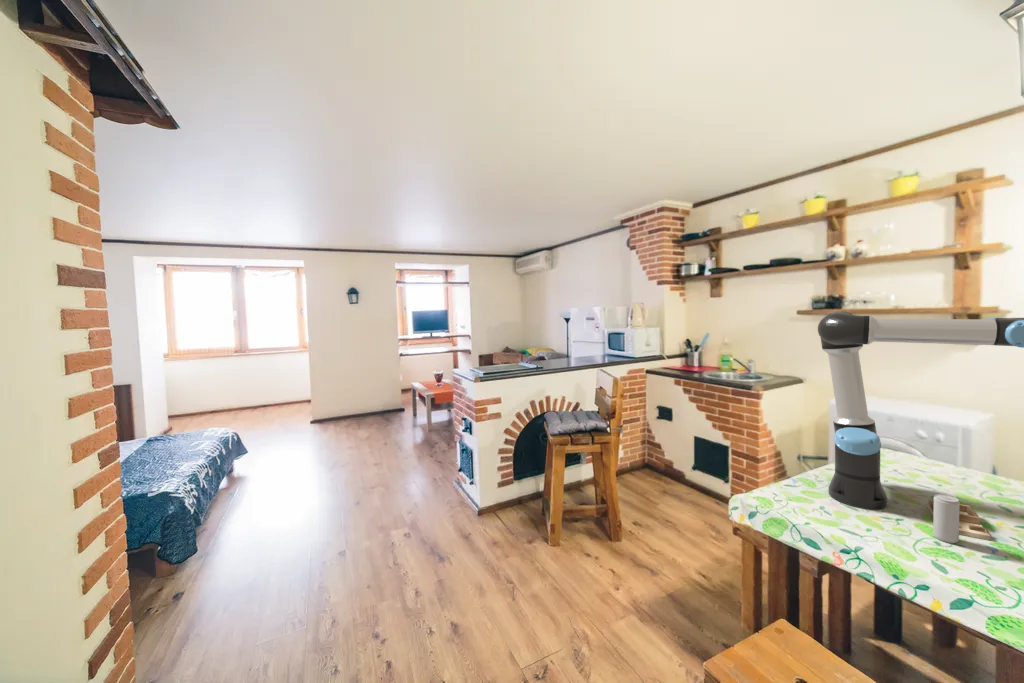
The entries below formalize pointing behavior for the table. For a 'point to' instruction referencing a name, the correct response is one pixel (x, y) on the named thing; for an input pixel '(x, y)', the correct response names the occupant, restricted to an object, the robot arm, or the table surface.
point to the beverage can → (946, 518)
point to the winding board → (967, 522)
